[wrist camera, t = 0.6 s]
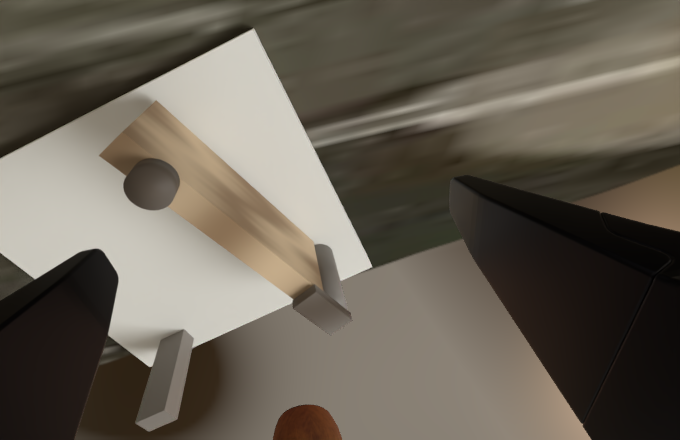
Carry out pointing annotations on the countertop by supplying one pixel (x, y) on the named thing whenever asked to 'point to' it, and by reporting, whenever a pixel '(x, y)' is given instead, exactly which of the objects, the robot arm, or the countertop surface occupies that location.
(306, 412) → the wooden figurine
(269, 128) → the white flat posted base
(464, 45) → the countertop surface
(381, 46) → the countertop surface
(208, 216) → the gate
